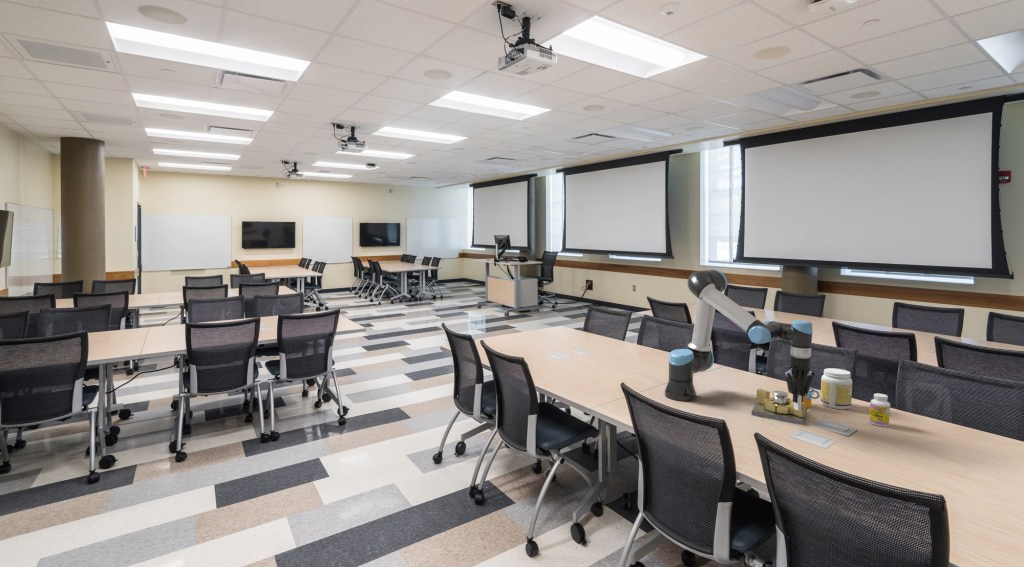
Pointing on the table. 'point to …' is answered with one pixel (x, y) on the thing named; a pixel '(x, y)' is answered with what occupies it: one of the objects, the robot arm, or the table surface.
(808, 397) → the cylinder
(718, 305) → the robot arm
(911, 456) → the table surface
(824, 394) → the supplement tub
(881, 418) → the supplement bottle
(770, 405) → the tan handled ring
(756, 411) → the flange plate
